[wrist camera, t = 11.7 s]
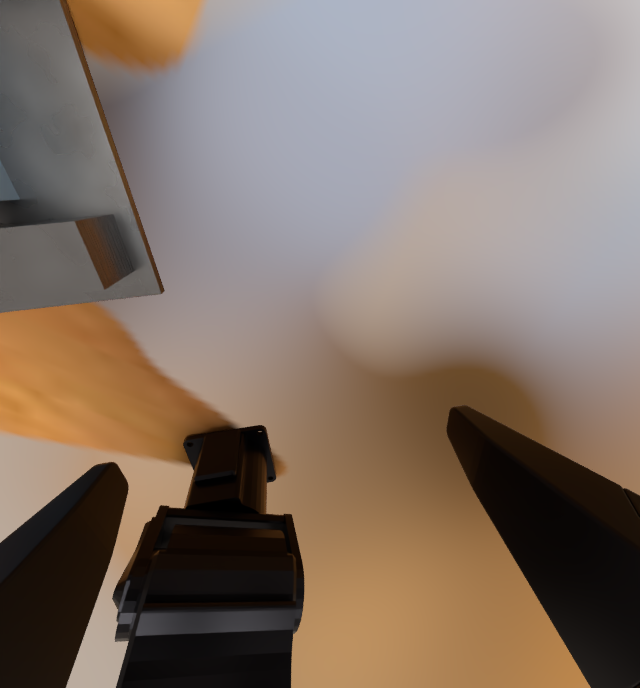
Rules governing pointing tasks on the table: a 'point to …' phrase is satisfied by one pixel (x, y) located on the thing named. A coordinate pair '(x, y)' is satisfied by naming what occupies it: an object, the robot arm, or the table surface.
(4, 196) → the block
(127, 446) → the table surface
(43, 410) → the table surface
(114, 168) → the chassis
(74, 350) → the table surface
